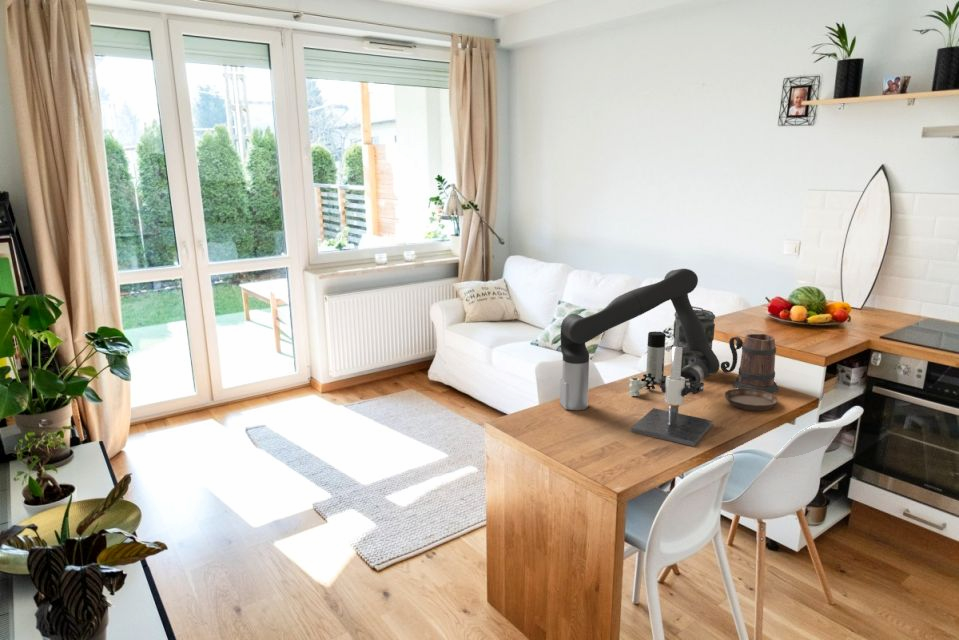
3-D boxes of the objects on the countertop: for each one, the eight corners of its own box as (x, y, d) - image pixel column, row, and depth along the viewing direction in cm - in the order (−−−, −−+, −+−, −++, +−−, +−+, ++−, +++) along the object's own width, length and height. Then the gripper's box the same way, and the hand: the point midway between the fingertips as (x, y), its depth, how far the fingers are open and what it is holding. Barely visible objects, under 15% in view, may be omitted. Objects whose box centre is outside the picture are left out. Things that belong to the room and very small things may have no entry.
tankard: (788, 387, 234) (793, 337, 229) (763, 396, 225) (768, 344, 220) (733, 372, 253) (737, 325, 248) (708, 380, 244) (712, 332, 239)
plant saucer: (713, 399, 224) (713, 391, 223) (750, 392, 230) (751, 385, 229) (749, 416, 208) (750, 408, 207) (788, 408, 214) (789, 400, 213)
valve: (638, 399, 224) (656, 391, 232) (639, 382, 223) (657, 375, 231) (623, 394, 229) (642, 387, 237) (624, 378, 228) (642, 371, 235)
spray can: (665, 384, 240) (668, 335, 235) (647, 384, 240) (650, 335, 235) (660, 378, 246) (663, 330, 242) (643, 378, 246) (646, 331, 242)
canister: (718, 372, 252) (723, 307, 246) (697, 381, 243) (702, 312, 236) (684, 364, 264) (689, 301, 258) (663, 371, 255) (667, 306, 248)
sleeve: (679, 406, 192) (681, 382, 191) (662, 402, 195) (664, 378, 194) (685, 400, 197) (686, 377, 195) (668, 397, 200) (669, 374, 198)
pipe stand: (694, 446, 185) (700, 360, 178) (631, 431, 196) (634, 349, 190) (712, 424, 200) (718, 344, 194) (653, 412, 212) (657, 335, 205)
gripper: (669, 363, 210) (651, 376, 197) (712, 370, 202) (696, 384, 189) (667, 383, 212) (650, 398, 199) (710, 391, 204) (694, 407, 190)
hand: (672, 391), depth 194 cm, fingers closed on sleeve, 5 cm apart
